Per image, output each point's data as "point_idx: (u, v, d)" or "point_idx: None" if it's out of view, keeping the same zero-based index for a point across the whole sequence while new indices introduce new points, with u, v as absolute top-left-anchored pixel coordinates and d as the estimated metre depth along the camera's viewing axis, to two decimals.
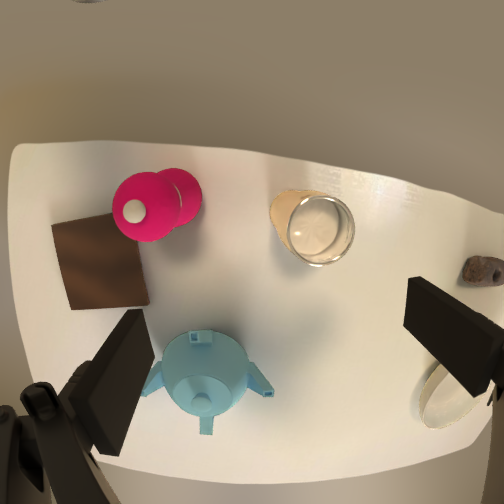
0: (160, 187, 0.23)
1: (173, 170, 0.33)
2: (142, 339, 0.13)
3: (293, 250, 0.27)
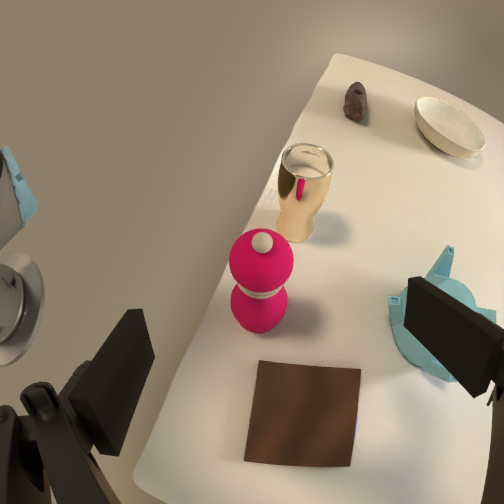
0: (248, 231, 0.28)
1: (234, 287, 0.38)
2: (142, 339, 0.13)
3: (319, 177, 0.35)
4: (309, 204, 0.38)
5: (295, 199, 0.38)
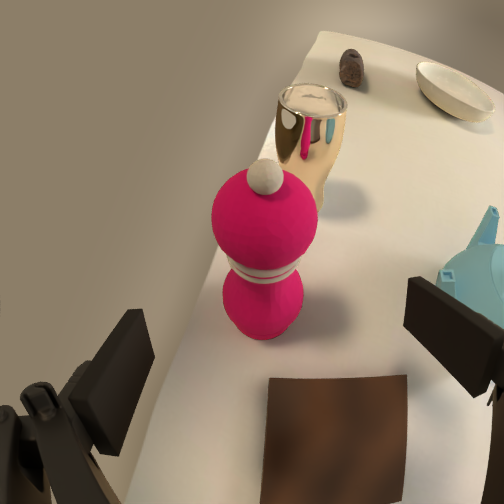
0: None
1: (226, 277, 0.26)
2: (142, 339, 0.13)
3: (332, 115, 0.24)
4: (320, 157, 0.28)
5: (301, 151, 0.27)
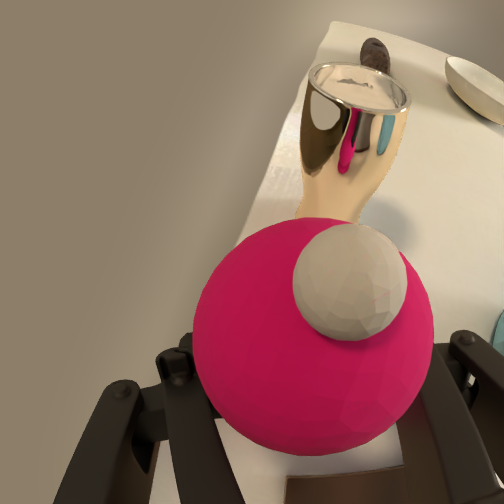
0: (260, 232, 0.07)
1: None
2: None
3: (396, 110, 0.14)
4: (370, 173, 0.18)
5: (343, 163, 0.17)
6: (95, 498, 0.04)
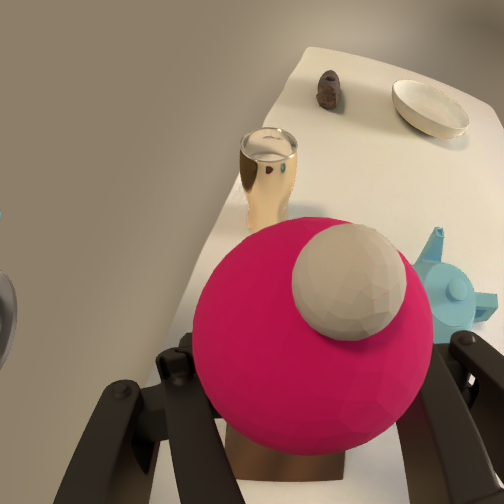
0: (259, 232, 0.07)
1: None
2: None
3: (281, 160, 0.31)
4: (275, 192, 0.35)
5: (258, 187, 0.35)
6: (95, 498, 0.04)
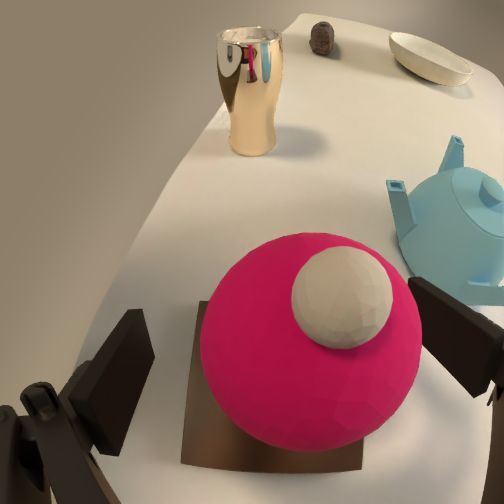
0: (261, 247, 0.07)
1: None
2: (142, 339, 0.13)
3: (262, 41, 0.23)
4: (257, 84, 0.27)
5: (237, 79, 0.26)
6: None
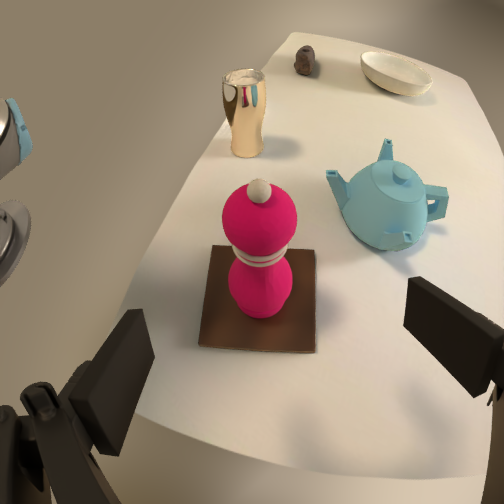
0: (242, 186, 0.24)
1: None
2: (142, 339, 0.13)
3: (251, 84, 0.39)
4: (248, 111, 0.43)
5: (236, 108, 0.43)
6: None
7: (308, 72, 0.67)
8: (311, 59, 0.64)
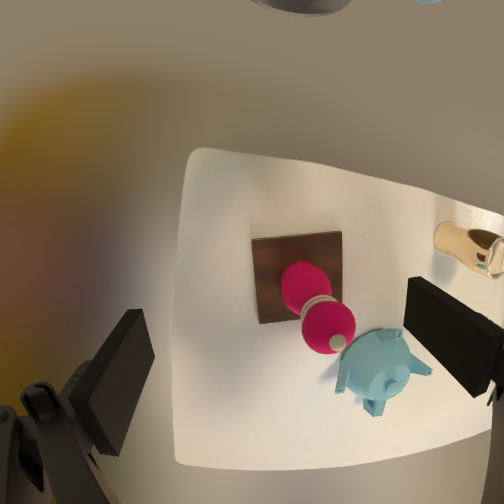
0: (350, 320, 0.30)
1: (314, 271, 0.41)
2: (142, 339, 0.13)
3: (487, 270, 0.34)
4: (466, 258, 0.38)
5: (470, 248, 0.37)
6: None
7: None
8: None
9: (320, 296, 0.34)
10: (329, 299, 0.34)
